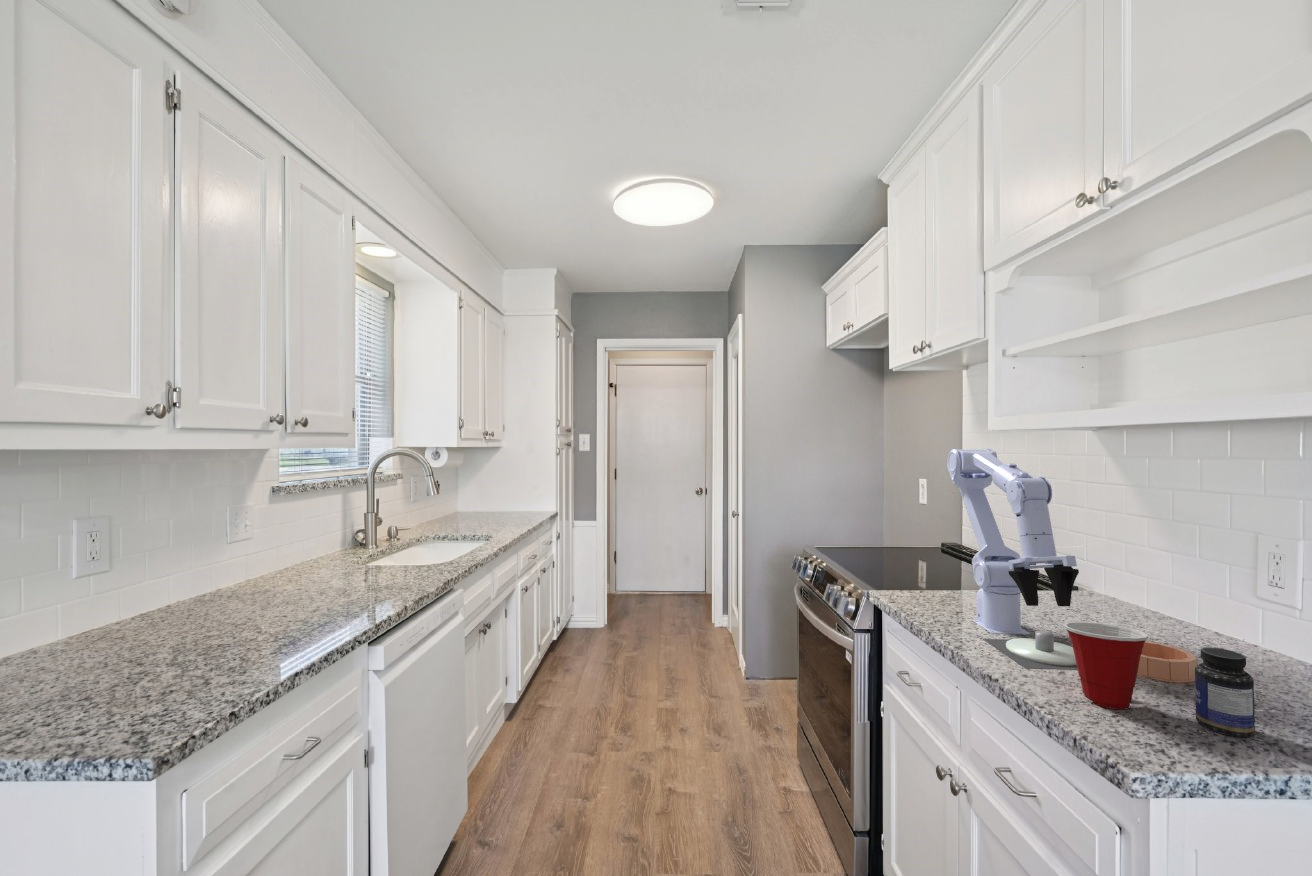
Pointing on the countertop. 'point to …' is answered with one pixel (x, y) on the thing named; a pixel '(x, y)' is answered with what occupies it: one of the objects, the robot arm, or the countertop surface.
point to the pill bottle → (1224, 693)
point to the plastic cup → (1106, 661)
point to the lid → (1042, 650)
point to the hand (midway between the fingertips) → (1047, 606)
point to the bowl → (1166, 663)
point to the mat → (1001, 646)
